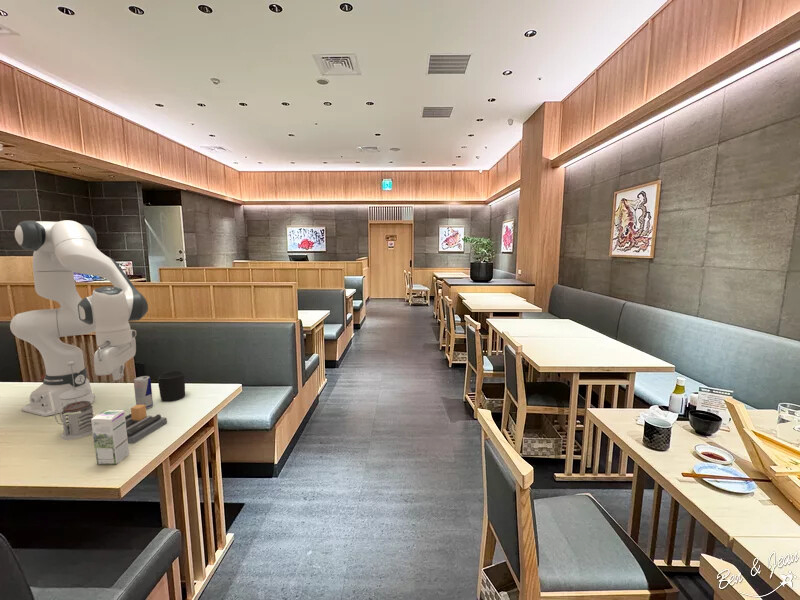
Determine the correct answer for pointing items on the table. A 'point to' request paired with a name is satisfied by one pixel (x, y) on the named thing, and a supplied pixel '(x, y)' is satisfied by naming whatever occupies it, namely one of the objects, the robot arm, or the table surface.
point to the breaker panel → (147, 430)
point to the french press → (74, 427)
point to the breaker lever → (138, 413)
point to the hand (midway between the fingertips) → (118, 378)
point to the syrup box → (110, 436)
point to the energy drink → (143, 391)
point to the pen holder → (172, 386)
